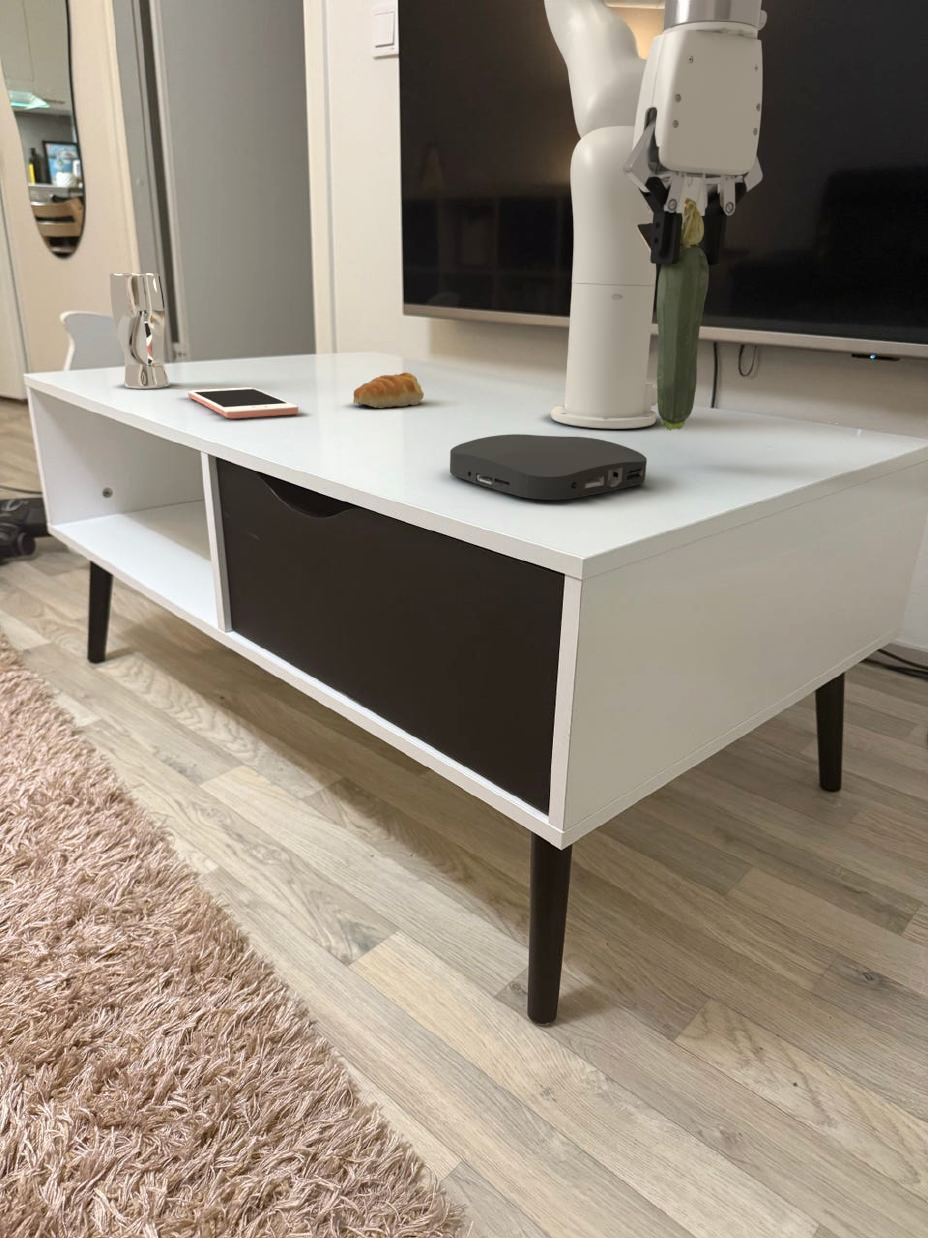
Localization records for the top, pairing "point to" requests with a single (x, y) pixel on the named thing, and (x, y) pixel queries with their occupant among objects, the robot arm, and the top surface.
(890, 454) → the top surface
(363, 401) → the pastry
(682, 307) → the vegetable
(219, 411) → the cell phone
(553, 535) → the top surface
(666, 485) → the top surface
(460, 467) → the media streaming box
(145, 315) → the silver vase
